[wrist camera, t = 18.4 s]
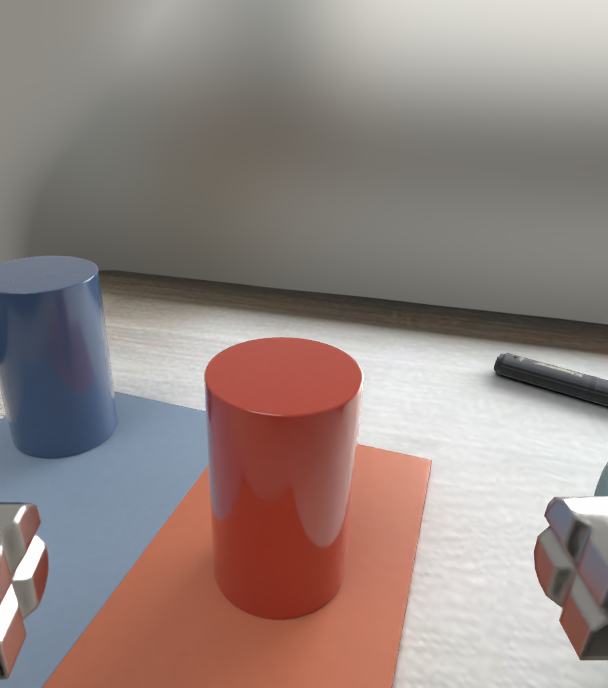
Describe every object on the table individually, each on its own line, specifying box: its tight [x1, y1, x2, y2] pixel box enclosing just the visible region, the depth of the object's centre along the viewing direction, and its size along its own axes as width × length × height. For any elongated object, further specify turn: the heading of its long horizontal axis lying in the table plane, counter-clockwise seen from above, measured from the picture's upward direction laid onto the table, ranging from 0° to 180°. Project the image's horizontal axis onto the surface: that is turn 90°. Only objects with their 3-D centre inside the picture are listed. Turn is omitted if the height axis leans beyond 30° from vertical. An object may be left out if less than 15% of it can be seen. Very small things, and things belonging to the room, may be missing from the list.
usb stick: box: [494, 353, 608, 406], centre depth 41 cm, size 10×3×2 cm, turn 58°
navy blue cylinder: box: [0, 256, 118, 458], centre depth 32 cm, size 6×6×10 cm
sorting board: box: [0, 392, 432, 688], centre depth 28 cm, size 26×20×1 cm
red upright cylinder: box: [204, 337, 364, 619], centre depth 23 cm, size 6×6×10 cm
